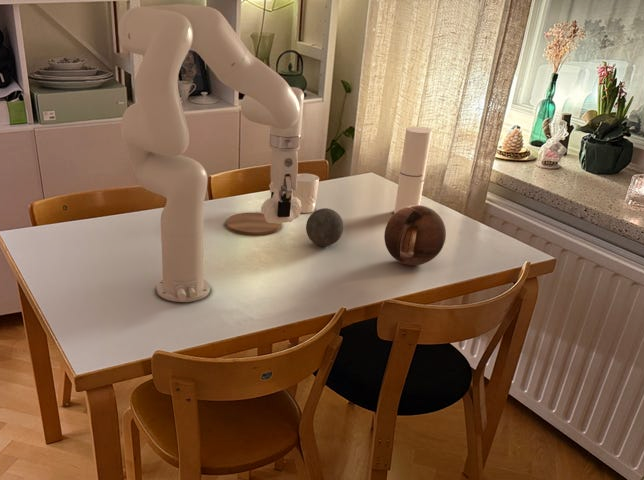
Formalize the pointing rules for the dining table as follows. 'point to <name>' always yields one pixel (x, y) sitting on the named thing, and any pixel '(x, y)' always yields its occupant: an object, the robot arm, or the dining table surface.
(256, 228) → the round wooden disc
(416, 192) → the cylindrical container
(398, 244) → the wooden sphere
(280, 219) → the bust
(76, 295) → the dining table surface
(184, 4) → the robot arm
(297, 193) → the white cup
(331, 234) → the decorative ball
